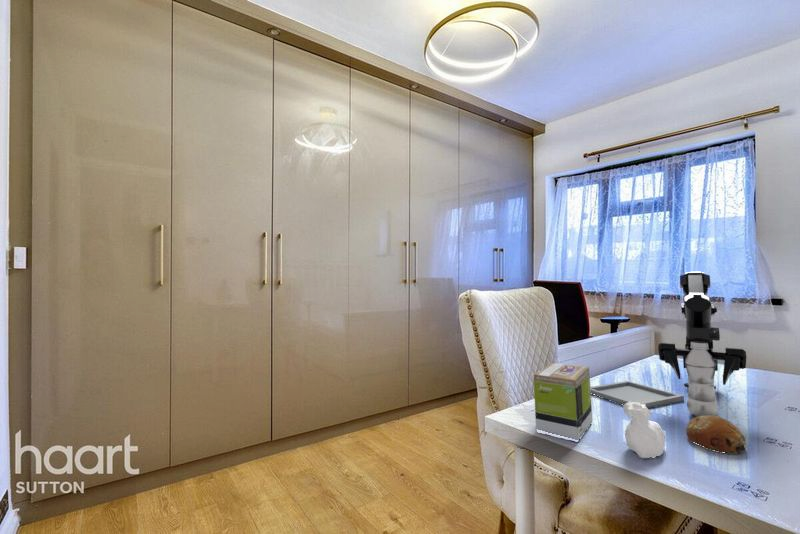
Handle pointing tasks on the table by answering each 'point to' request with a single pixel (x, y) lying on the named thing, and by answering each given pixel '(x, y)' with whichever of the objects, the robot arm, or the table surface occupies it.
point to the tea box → (563, 400)
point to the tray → (636, 394)
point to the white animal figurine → (643, 431)
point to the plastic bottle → (701, 380)
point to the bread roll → (716, 434)
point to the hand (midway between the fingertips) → (701, 381)
